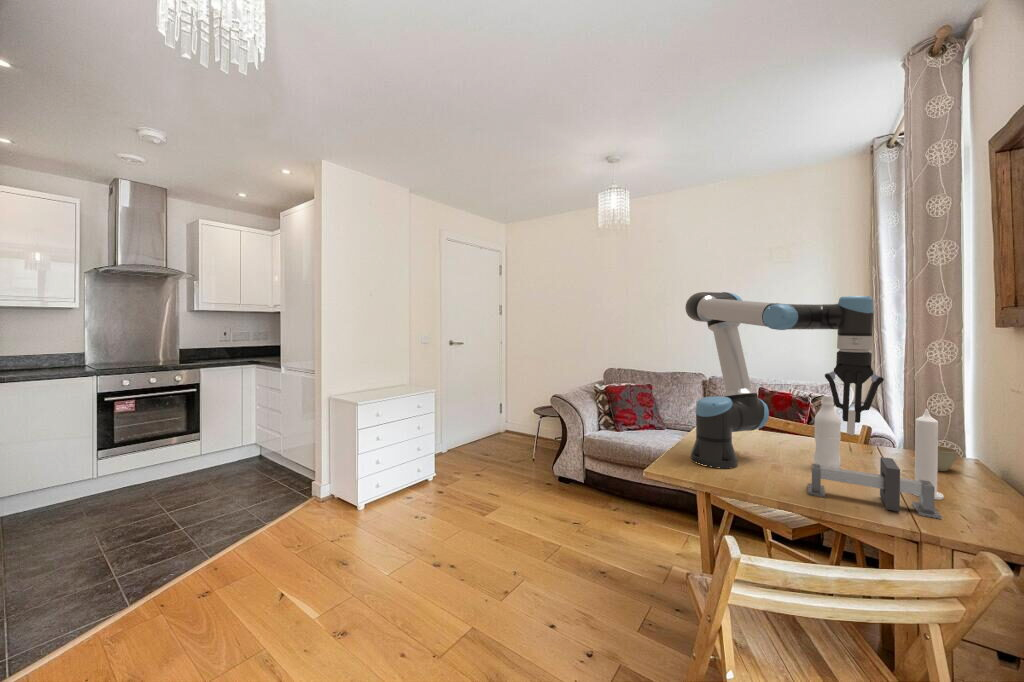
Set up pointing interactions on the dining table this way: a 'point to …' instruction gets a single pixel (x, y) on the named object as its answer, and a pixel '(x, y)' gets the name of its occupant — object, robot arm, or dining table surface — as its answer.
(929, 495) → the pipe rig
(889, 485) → the collar
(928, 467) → the candle
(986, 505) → the dining table surface
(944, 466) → the flower pot
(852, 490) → the dining table surface
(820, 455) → the water bottle
